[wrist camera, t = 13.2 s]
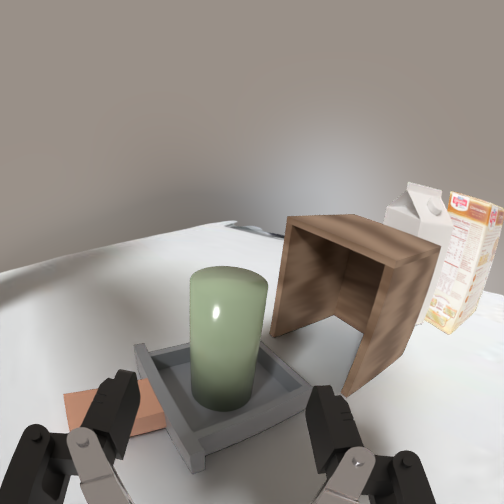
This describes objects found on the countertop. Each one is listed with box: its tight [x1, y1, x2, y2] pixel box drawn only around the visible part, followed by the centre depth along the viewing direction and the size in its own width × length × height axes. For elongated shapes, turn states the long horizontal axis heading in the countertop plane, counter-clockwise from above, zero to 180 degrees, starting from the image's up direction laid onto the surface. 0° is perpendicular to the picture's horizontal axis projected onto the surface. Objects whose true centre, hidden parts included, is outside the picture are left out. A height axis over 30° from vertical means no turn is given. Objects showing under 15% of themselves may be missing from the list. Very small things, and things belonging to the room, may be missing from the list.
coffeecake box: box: [424, 191, 504, 335], centre depth 36 cm, size 15×7×20 cm, turn 118°
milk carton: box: [384, 182, 454, 325], centre depth 35 cm, size 7×7×19 cm
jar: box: [190, 266, 268, 412], centre depth 20 cm, size 5×5×10 cm
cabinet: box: [270, 214, 441, 398], centre depth 28 cm, size 11×12×14 cm
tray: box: [63, 341, 313, 474], centre depth 19 cm, size 18×12×3 cm, turn 123°
